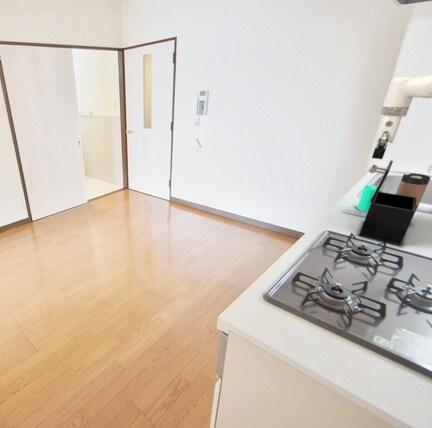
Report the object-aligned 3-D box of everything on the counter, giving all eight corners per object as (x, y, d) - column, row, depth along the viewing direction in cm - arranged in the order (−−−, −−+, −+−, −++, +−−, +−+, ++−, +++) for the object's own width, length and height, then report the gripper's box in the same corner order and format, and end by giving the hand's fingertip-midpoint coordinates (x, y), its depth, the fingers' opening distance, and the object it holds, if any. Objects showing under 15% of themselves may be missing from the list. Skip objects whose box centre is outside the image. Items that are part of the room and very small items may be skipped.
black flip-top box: (402, 229, 111) (416, 197, 105) (399, 246, 101) (415, 211, 95) (364, 221, 119) (376, 191, 113) (358, 235, 108) (370, 203, 103)
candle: (358, 205, 133) (366, 181, 128) (374, 208, 129) (384, 184, 124) (355, 209, 130) (364, 184, 125) (372, 212, 126) (382, 187, 121)
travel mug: (410, 227, 112) (431, 180, 104) (384, 222, 117) (403, 176, 109) (409, 220, 117) (430, 175, 109) (385, 215, 122) (403, 172, 114)
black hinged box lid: (393, 160, 107) (375, 157, 110) (389, 170, 96) (370, 166, 99) (377, 190, 113) (361, 186, 116) (372, 202, 102) (355, 198, 105)
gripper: (407, 114, 99) (389, 161, 106) (407, 110, 110) (391, 153, 117) (379, 114, 104) (363, 159, 111) (382, 109, 115) (368, 151, 122)
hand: (377, 156), depth 114 cm, fingers open, 9 cm apart
